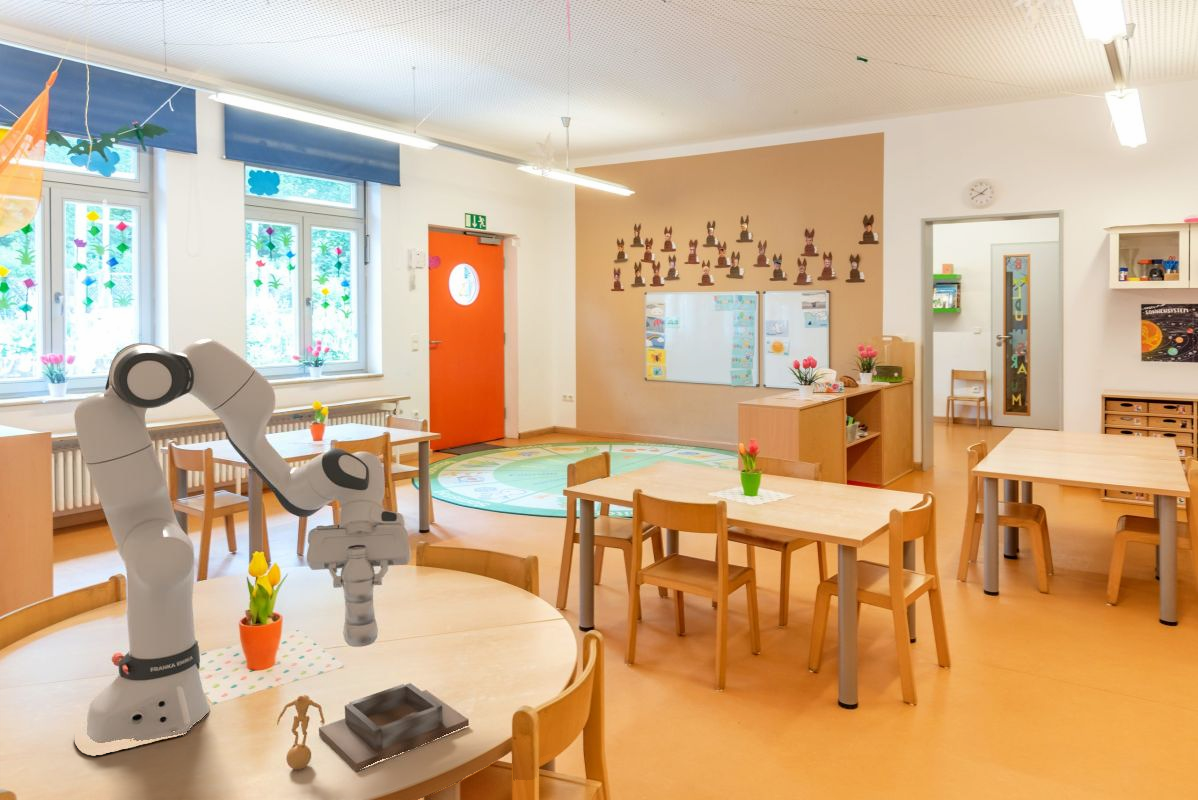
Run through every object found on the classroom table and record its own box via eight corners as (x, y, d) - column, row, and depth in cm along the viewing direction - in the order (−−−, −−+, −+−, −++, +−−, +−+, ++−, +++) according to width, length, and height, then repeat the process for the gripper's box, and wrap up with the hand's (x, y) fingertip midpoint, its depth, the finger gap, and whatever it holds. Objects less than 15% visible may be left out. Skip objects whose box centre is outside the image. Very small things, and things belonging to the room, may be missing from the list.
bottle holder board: (356, 771, 140) (355, 744, 139) (319, 735, 152) (317, 709, 151) (468, 727, 154) (467, 701, 154) (426, 696, 166) (425, 673, 166)
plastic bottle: (369, 652, 162) (365, 552, 160) (337, 649, 163) (333, 550, 161) (384, 639, 168) (380, 543, 166) (353, 636, 170) (349, 541, 167)
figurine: (270, 773, 140) (266, 706, 138) (286, 754, 146) (282, 689, 144) (318, 774, 139) (314, 707, 138) (332, 755, 145) (328, 690, 144)
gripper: (306, 518, 168) (300, 581, 159) (410, 513, 171) (408, 574, 163) (311, 534, 173) (305, 595, 164) (411, 529, 176) (410, 589, 168)
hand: (357, 585), depth 164 cm, fingers closed on plastic bottle, 6 cm apart
